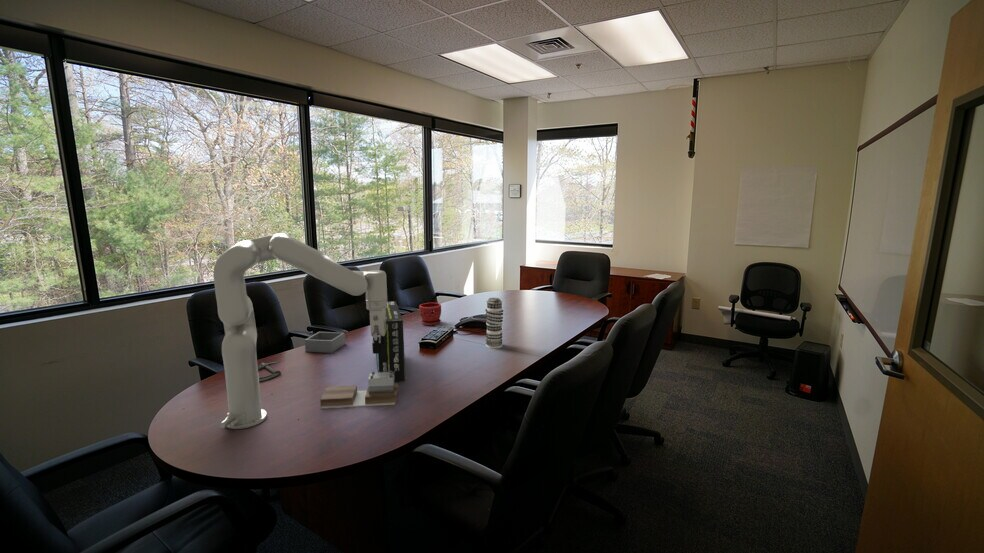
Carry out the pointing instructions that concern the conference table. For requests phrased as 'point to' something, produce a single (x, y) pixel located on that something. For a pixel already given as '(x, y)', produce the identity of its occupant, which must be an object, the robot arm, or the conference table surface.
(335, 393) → the stand
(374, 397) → the stand
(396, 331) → the router box
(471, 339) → the conference table surface
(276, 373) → the c clamp
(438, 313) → the plant pot
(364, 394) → the mat
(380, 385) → the housing
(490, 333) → the model tower
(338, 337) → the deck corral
